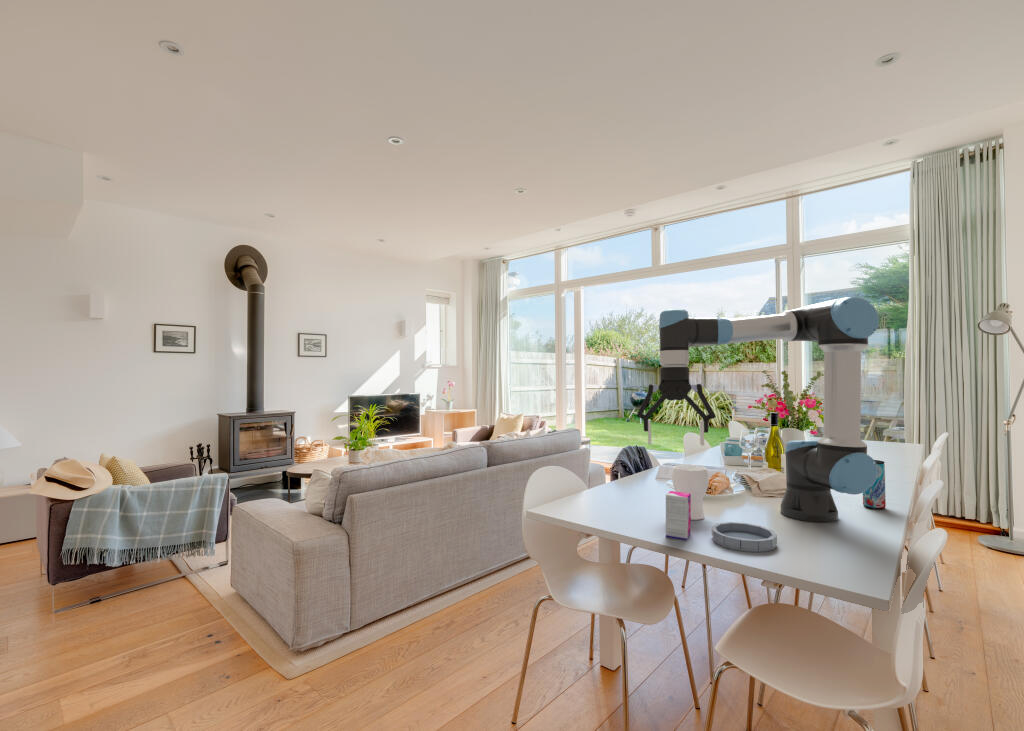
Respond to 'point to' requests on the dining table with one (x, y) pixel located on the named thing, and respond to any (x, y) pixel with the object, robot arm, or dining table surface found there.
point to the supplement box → (678, 515)
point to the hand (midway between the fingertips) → (675, 444)
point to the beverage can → (876, 490)
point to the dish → (744, 537)
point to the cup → (692, 486)
